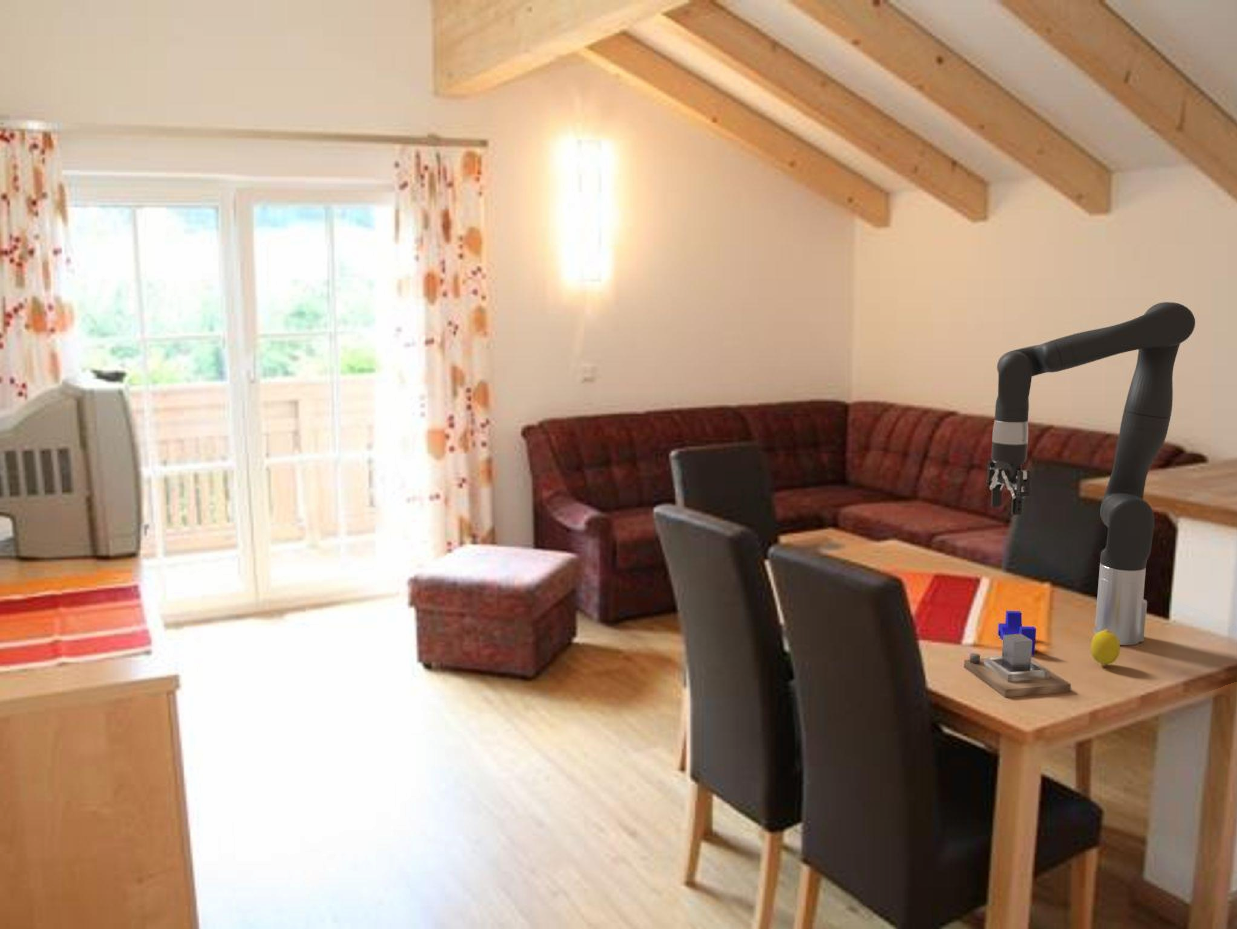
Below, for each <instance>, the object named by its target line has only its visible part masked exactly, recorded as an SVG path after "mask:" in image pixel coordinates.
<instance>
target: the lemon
mask: <svg viewBox="0 0 1237 929" xmlns="http://www.w3.org/2000/svg"><path fill="white" fill-rule="evenodd" d="M1120 652H1121V645H1120V644H1119V640H1118V638H1117V636H1116V635H1115V634H1113V633H1112V632H1110V631H1109V630H1107V629H1105V630H1104V631H1100V632H1098V633H1096V634H1095V635H1094V634H1093V637H1092V640H1091V642H1090V653H1091V656H1092V658H1093V659H1094V660H1095V661H1096V662H1098V663H1099V664H1100V665H1101V666H1102V667H1106V666H1107V665H1110V664H1113V663H1114V662H1115V661H1117V659H1118V658H1119V655H1120Z"/></svg>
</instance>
